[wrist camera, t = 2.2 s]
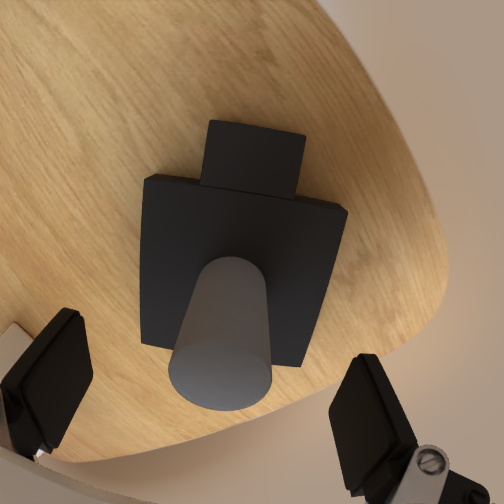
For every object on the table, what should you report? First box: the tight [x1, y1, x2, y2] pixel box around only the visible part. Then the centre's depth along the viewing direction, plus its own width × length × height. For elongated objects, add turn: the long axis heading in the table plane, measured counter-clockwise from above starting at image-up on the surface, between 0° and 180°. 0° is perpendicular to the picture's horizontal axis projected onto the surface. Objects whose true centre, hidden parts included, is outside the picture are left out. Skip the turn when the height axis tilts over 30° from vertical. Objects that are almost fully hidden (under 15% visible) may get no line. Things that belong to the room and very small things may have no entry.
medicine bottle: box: [0, 323, 44, 458], centre depth 14 cm, size 7×7×12 cm
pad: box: [140, 120, 348, 411], centre depth 12 cm, size 12×9×8 cm
